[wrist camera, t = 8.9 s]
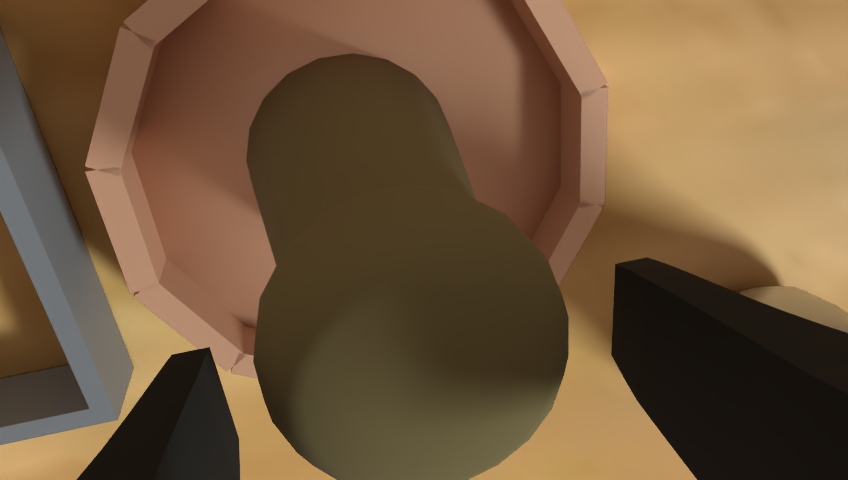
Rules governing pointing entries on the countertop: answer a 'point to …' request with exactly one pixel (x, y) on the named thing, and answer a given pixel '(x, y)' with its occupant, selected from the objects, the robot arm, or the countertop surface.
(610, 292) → the countertop surface
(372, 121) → the olive rounded piece
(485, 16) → the dish
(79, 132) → the countertop surface
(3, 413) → the parts tray
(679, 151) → the countertop surface
